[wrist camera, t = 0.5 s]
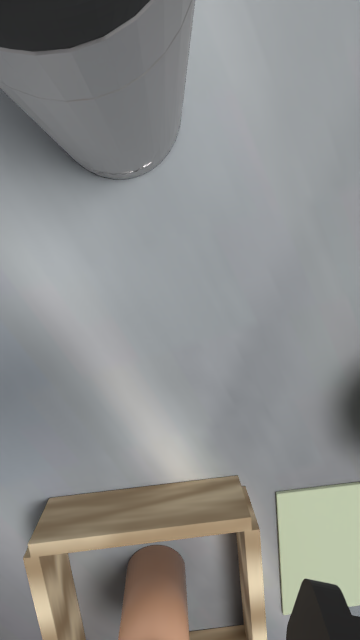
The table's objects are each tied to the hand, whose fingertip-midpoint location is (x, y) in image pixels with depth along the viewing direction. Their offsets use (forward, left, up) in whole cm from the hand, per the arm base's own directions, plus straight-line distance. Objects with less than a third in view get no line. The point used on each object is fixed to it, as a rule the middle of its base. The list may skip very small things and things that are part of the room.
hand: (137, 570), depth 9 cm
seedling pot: (+22, -3, -21) cm, 31 cm away
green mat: (+22, +14, -21) cm, 34 cm away
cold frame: (+22, -3, -21) cm, 31 cm away
